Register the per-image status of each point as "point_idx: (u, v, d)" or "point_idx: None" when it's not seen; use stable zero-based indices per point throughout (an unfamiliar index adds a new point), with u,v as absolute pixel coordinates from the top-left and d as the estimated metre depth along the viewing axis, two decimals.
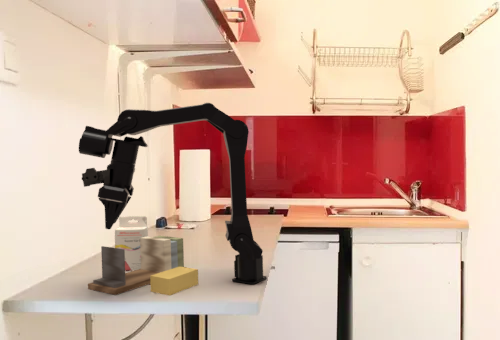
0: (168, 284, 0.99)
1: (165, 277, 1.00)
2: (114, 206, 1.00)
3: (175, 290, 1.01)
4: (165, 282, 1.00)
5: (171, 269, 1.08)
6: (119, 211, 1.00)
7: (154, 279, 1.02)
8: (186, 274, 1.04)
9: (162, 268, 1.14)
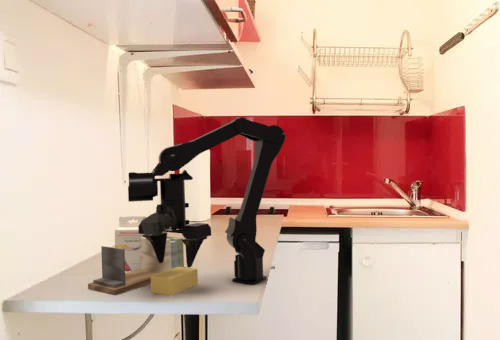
0: (169, 284, 0.99)
1: (166, 277, 1.00)
2: (194, 243, 1.02)
3: (176, 290, 1.01)
4: (166, 282, 1.00)
5: (170, 269, 1.08)
6: (199, 246, 1.03)
7: (154, 279, 1.01)
8: (186, 274, 1.04)
9: (162, 268, 1.14)
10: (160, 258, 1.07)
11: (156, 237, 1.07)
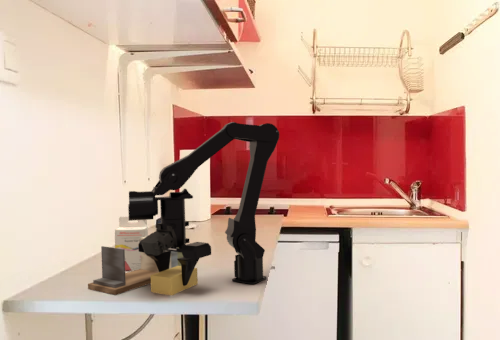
0: (169, 283, 0.99)
1: (166, 276, 1.00)
2: (189, 261, 1.03)
3: (176, 289, 1.01)
4: (166, 281, 1.00)
5: (170, 268, 1.08)
6: (195, 264, 1.04)
7: (155, 278, 1.01)
8: None
9: None
10: None
11: (160, 256, 1.06)
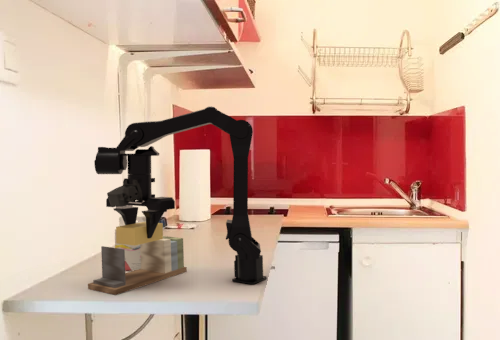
0: (133, 233, 1.04)
1: (130, 227, 1.05)
2: (154, 215, 1.07)
3: (140, 240, 1.05)
4: (130, 232, 1.04)
5: (137, 223, 1.12)
6: (159, 218, 1.08)
7: (120, 230, 1.06)
8: None
9: (162, 268, 1.14)
10: None
11: (127, 211, 1.11)
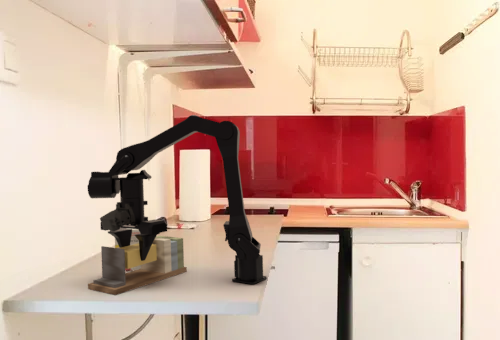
0: (126, 257, 1.05)
1: None
2: (147, 238, 1.09)
3: (133, 263, 1.07)
4: None
5: (131, 245, 1.14)
6: (152, 241, 1.10)
7: None
8: None
9: (162, 268, 1.14)
10: None
11: (121, 233, 1.12)
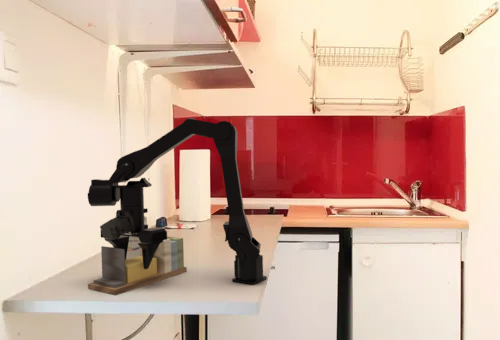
0: (126, 271, 1.05)
1: None
2: (150, 246, 1.08)
3: (133, 277, 1.07)
4: None
5: (131, 258, 1.14)
6: (155, 249, 1.09)
7: None
8: None
9: (162, 268, 1.14)
10: None
11: (118, 241, 1.13)
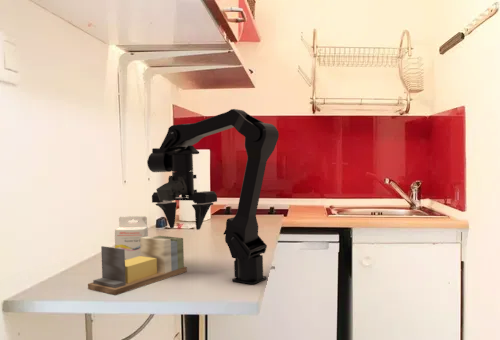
0: (126, 271, 1.05)
1: None
2: (202, 208, 1.17)
3: (133, 277, 1.07)
4: None
5: (131, 258, 1.14)
6: (206, 211, 1.18)
7: None
8: (144, 262, 1.10)
9: (162, 268, 1.14)
10: (171, 224, 1.22)
11: (167, 205, 1.22)
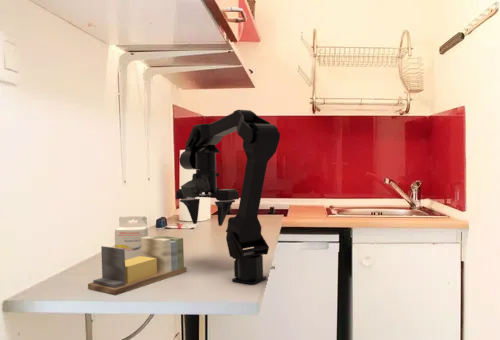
0: (126, 271, 1.05)
1: None
2: (224, 205, 1.22)
3: (133, 277, 1.07)
4: None
5: (131, 258, 1.14)
6: (228, 208, 1.23)
7: None
8: (144, 262, 1.10)
9: (162, 268, 1.14)
10: (194, 219, 1.27)
11: (191, 202, 1.27)
